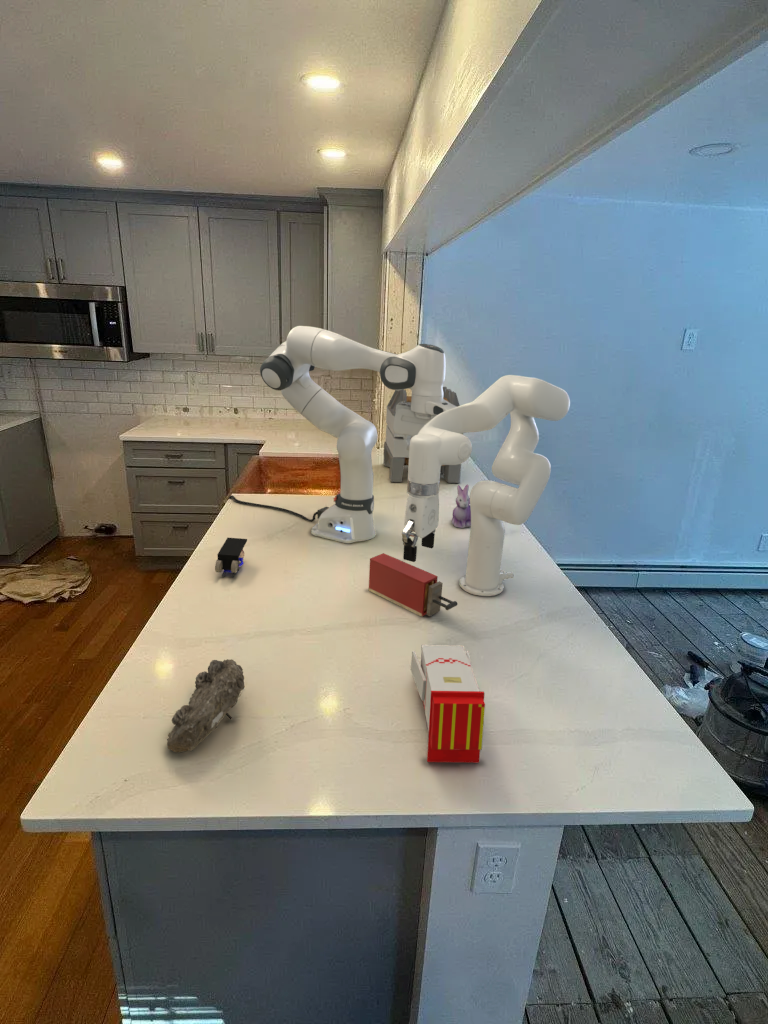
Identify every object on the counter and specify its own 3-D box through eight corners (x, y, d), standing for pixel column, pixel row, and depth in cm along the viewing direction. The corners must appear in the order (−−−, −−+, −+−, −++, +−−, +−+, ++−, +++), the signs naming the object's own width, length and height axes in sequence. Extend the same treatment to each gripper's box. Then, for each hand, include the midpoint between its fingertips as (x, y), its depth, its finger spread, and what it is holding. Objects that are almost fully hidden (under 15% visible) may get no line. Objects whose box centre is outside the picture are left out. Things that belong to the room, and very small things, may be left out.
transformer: (382, 463, 289) (386, 382, 275) (445, 464, 293) (451, 384, 279) (390, 482, 257) (394, 392, 243) (460, 483, 261) (468, 394, 247)
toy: (464, 627, 124) (494, 699, 95) (461, 683, 127) (489, 770, 98) (409, 626, 124) (422, 698, 94) (407, 682, 127) (419, 769, 97)
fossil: (192, 660, 117) (244, 628, 112) (224, 691, 120) (276, 661, 115) (142, 746, 98) (202, 712, 93) (182, 779, 101) (242, 748, 96)
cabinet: (435, 609, 150) (437, 576, 147) (421, 616, 147) (424, 582, 143) (382, 584, 163) (383, 553, 159) (368, 590, 159) (369, 558, 156)
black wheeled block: (238, 584, 162) (249, 557, 175) (236, 562, 158) (247, 536, 172) (215, 584, 161) (227, 556, 175) (212, 561, 158) (225, 535, 171)
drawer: (456, 618, 145) (459, 589, 142) (446, 624, 142) (449, 595, 139) (388, 586, 160) (390, 560, 157) (378, 591, 157) (379, 564, 154)
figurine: (459, 530, 205) (463, 490, 200) (444, 520, 214) (447, 482, 209) (480, 526, 209) (485, 488, 204) (464, 517, 218) (468, 480, 213)
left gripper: (390, 401, 162) (387, 448, 166) (451, 411, 150) (447, 462, 155) (403, 399, 166) (400, 445, 171) (463, 409, 155) (458, 458, 160)
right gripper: (420, 500, 125) (416, 570, 131) (452, 481, 139) (447, 545, 145) (391, 493, 129) (388, 562, 134) (425, 476, 143) (420, 539, 149)
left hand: (423, 453), depth 163 cm, fingers open, 8 cm apart
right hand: (418, 553), depth 140 cm, fingers open, 9 cm apart
